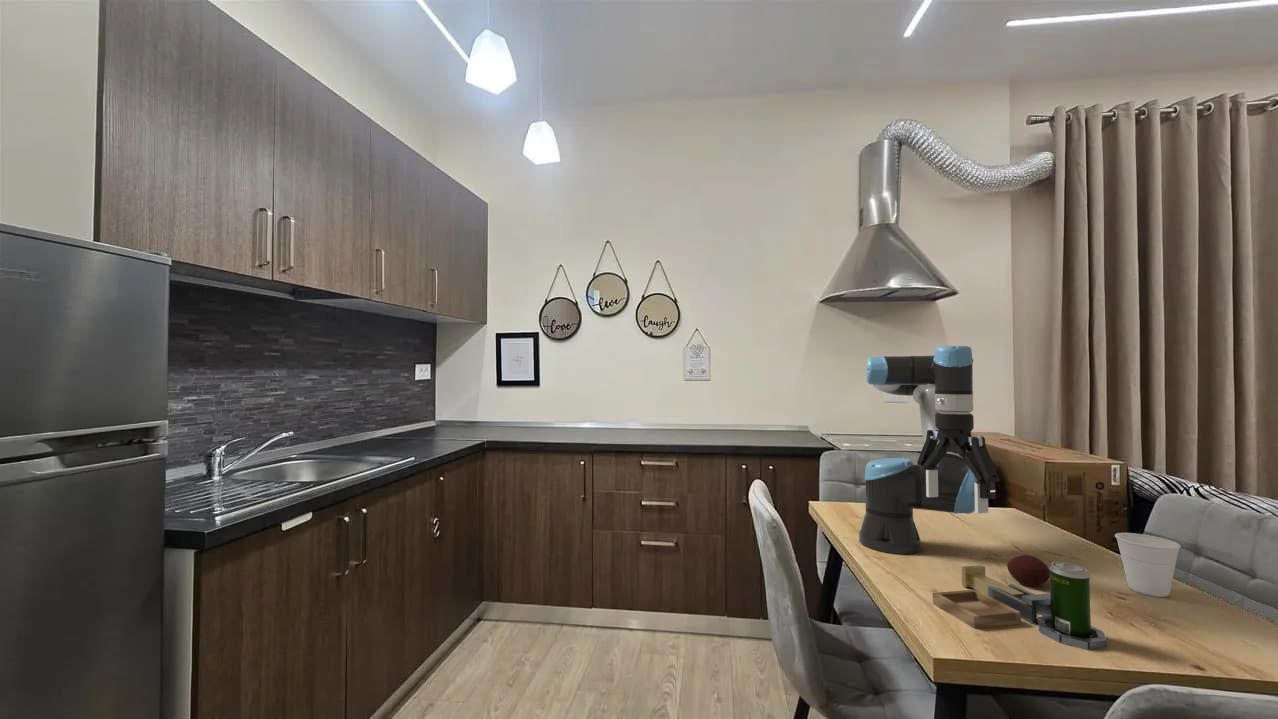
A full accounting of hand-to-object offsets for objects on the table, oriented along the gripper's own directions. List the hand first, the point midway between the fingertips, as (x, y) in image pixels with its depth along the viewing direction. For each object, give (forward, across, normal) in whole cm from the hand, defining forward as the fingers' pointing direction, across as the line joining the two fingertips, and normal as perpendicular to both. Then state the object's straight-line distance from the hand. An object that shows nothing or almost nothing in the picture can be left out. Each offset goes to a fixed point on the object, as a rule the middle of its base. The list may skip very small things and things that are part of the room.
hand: (955, 504), depth 114 cm
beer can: (+16, +26, -2) cm, 31 cm away
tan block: (+16, +11, -1) cm, 19 cm away
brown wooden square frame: (+16, +16, -11) cm, 25 cm away
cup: (+17, +15, +34) cm, 41 cm away
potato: (+17, +6, +13) cm, 22 cm away
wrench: (+16, +21, -2) cm, 27 cm away
